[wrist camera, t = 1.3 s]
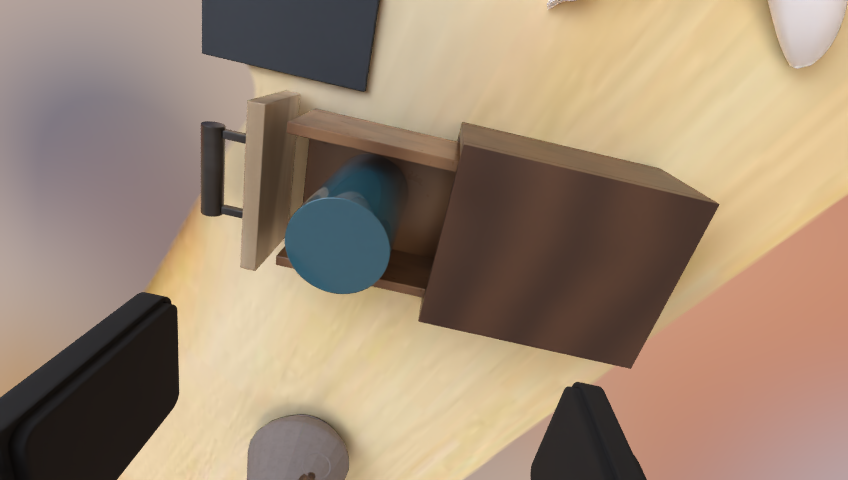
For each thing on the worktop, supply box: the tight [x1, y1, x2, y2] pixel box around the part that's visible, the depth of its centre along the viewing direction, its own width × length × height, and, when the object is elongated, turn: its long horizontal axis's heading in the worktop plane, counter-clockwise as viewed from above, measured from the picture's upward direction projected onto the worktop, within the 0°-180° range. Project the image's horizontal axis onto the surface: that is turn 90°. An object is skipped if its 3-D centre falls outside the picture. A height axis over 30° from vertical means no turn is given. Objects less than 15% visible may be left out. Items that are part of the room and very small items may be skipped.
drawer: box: [201, 91, 460, 298], centre depth 34 cm, size 20×13×7 cm, turn 78°
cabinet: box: [418, 122, 719, 369], centre depth 34 cm, size 17×14×9 cm
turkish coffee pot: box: [247, 414, 349, 480], centre depth 42 cm, size 21×12×15 cm, turn 153°
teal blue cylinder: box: [285, 154, 409, 294], centre depth 31 cm, size 8×6×11 cm
